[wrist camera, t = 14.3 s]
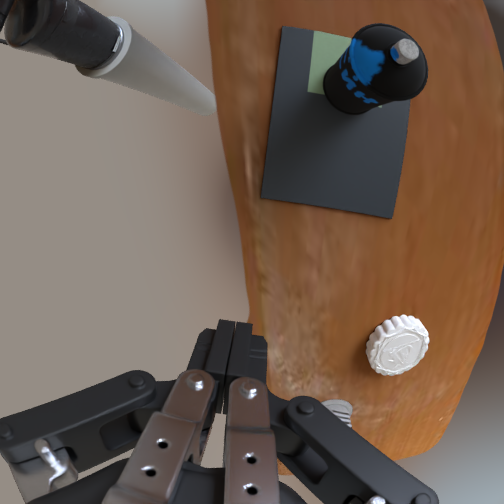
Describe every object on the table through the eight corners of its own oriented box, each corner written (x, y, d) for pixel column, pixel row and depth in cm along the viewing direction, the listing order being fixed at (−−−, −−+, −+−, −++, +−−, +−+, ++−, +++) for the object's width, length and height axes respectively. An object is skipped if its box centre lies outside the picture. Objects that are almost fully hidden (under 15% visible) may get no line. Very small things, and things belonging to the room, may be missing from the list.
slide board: (260, 197, 43) (260, 197, 43) (282, 26, 34) (282, 25, 34) (391, 218, 43) (392, 218, 42) (411, 57, 34) (412, 56, 34)
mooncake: (367, 373, 53) (372, 385, 50) (362, 325, 49) (367, 337, 46) (423, 355, 51) (429, 365, 48) (423, 305, 47) (431, 315, 44)
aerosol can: (365, 56, 35) (425, 4, 16) (386, 107, 37) (462, 87, 18) (313, 69, 36) (345, 13, 17) (335, 121, 38) (386, 104, 20)
